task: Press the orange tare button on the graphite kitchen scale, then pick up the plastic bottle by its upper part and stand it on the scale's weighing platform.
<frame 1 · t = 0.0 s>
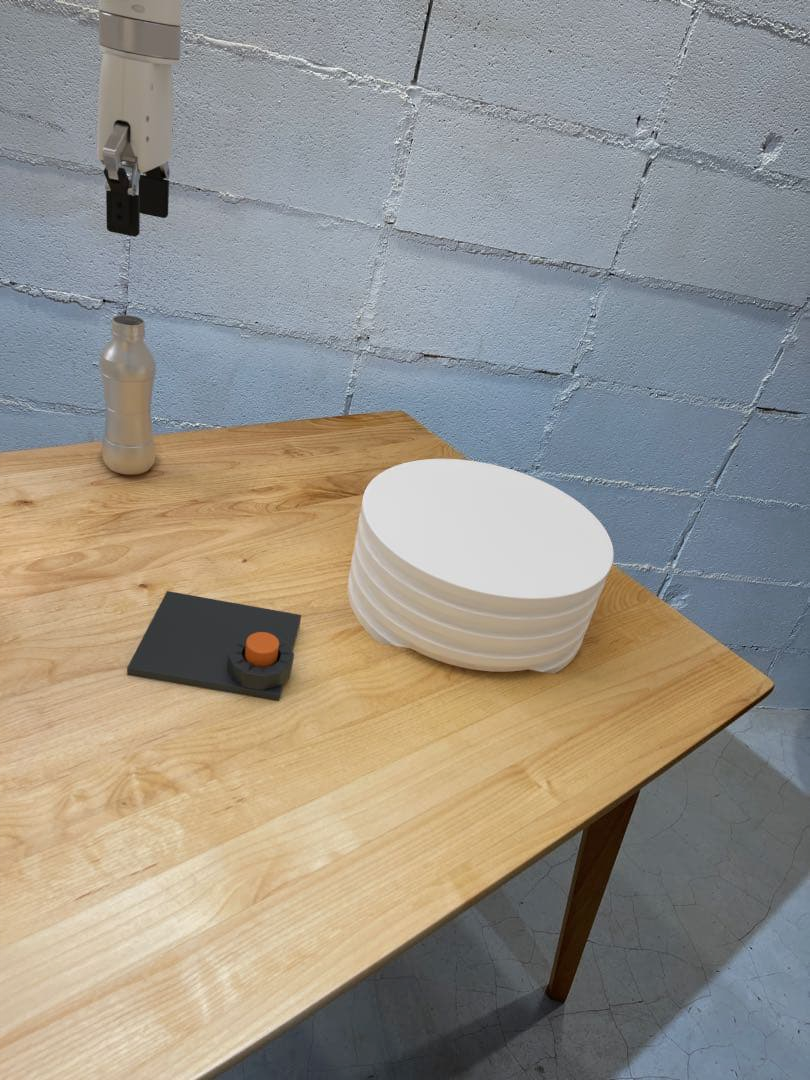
hand: (138, 223, 88), 32 cm above the table, tool pointing down, fingers open, 9 cm apart
plate stack: (465, 603, 96), on the table
scale: (218, 656, 80), on the table
plastic bottle: (128, 469, 107), on the table
tare button: (261, 649, 76), point 4 cm above the table, slide at 0.1 cm
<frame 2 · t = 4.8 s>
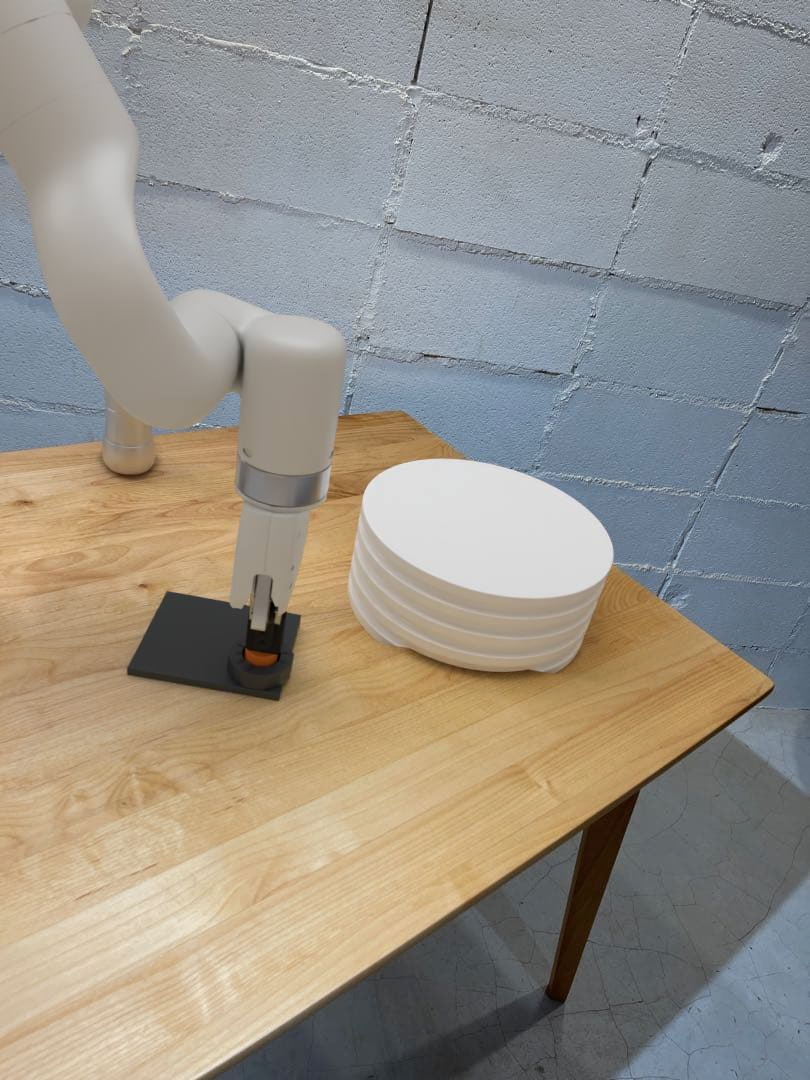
hand: (264, 646, 75), 5 cm above the table, tool pointing down, fingers closed
tare button: (261, 653, 76), point 4 cm above the table, slide at -0.4 cm, touching gripper
everything else where it was.
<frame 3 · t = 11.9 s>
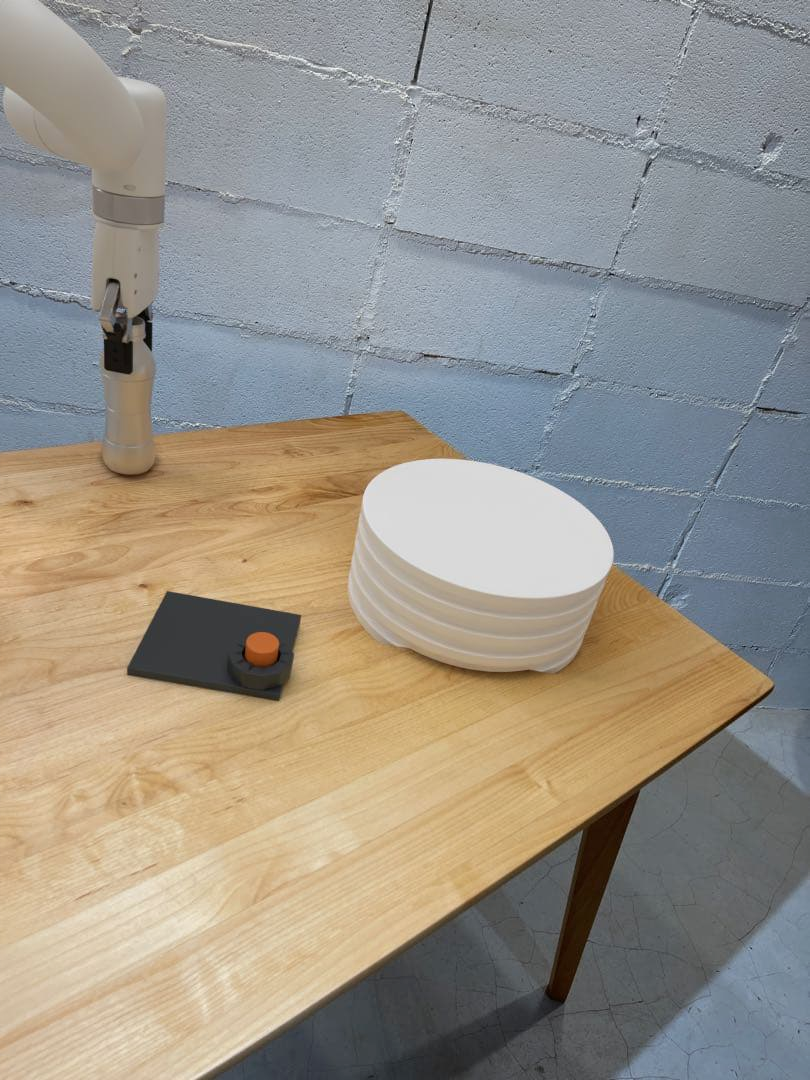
hand: (128, 360, 99), 15 cm above the table, tool pointing down, fingers closed on plastic bottle, 6 cm apart
plastic bottle: (128, 469, 107), on the table, touching gripper
tare button: (261, 649, 76), point 4 cm above the table, slide at 0.1 cm
everything else where it was.
when the fingers open (17 cm above the table, at t = 21.2 s): plastic bottle stays where it is, resting on scale.
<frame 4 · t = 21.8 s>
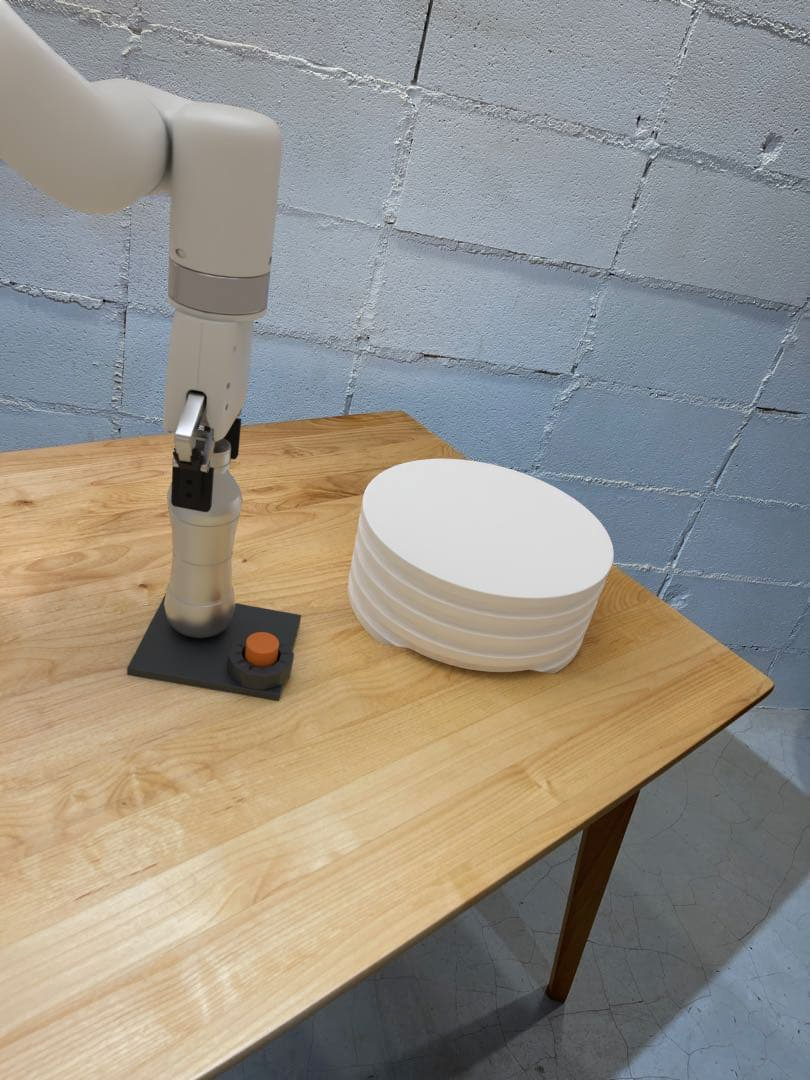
hand: (206, 480, 71), 19 cm above the table, tool pointing down, fingers open, 9 cm apart
plastic bottle: (198, 626, 80), point 2 cm above the table, touching scale
everything else where it was.
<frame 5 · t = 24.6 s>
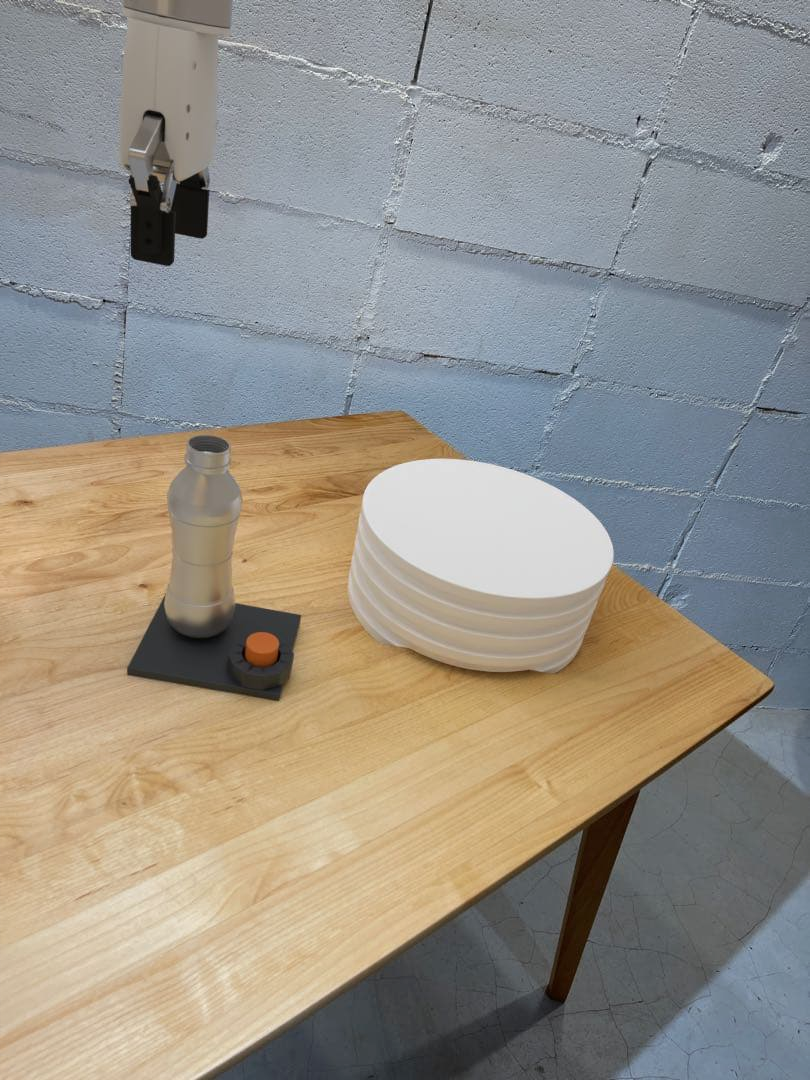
hand: (171, 247, 67), 36 cm above the table, tool pointing down, fingers open, 9 cm apart
nothing on the table moved.
at the end: tare button pushed in 1.1 cm at the most during the clip, back to where it started at the end; plastic bottle inside the target area on the scale (2.9 cm from its centre), point 2.0 cm above the scale's base; plastic bottle tilted 0° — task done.
